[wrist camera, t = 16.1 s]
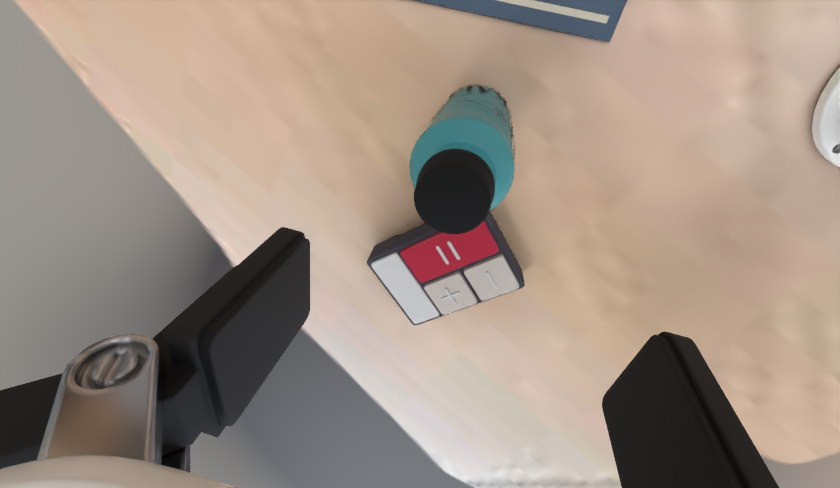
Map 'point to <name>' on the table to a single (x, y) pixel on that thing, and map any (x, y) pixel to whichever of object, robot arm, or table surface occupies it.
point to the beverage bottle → (463, 161)
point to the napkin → (549, 14)
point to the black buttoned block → (445, 269)
